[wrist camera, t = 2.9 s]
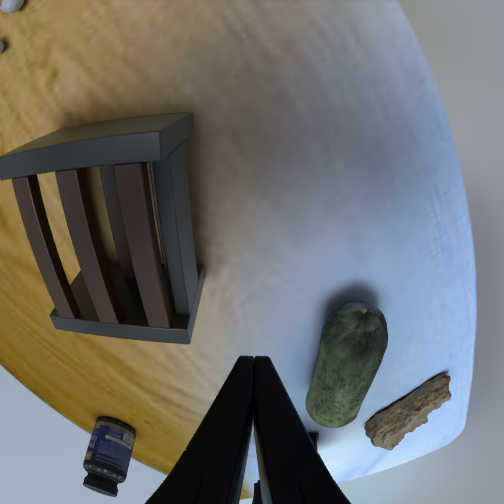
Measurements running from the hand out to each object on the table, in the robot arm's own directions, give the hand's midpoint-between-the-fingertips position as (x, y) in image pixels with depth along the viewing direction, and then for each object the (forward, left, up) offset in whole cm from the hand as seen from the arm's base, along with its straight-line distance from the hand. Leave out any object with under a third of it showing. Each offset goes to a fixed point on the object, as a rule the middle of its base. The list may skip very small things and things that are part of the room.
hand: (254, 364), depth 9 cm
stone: (-20, +25, -7) cm, 33 cm away
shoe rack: (+8, 0, -11) cm, 14 cm away
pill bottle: (+20, +33, -12) cm, 40 cm away
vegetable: (-10, +13, -9) cm, 18 cm away
